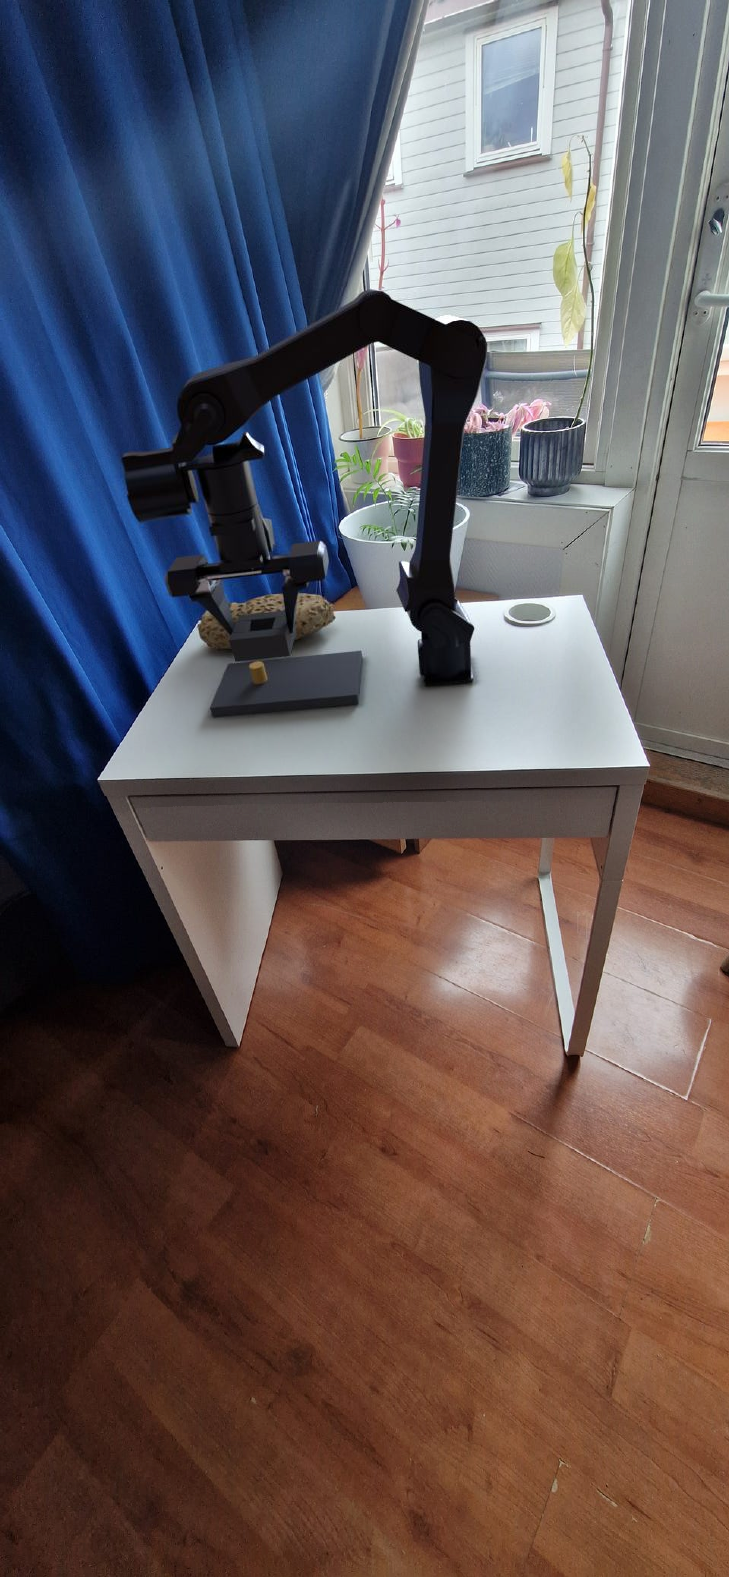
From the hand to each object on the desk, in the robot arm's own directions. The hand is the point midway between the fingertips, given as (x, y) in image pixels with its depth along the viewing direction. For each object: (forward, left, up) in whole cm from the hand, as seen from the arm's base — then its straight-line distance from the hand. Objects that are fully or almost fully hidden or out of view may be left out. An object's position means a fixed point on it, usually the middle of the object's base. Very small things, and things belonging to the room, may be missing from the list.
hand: (263, 634), depth 82 cm
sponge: (+4, -19, -10) cm, 22 cm away
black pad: (0, 0, -2) cm, 2 cm away
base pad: (-1, -4, -10) cm, 11 cm away
